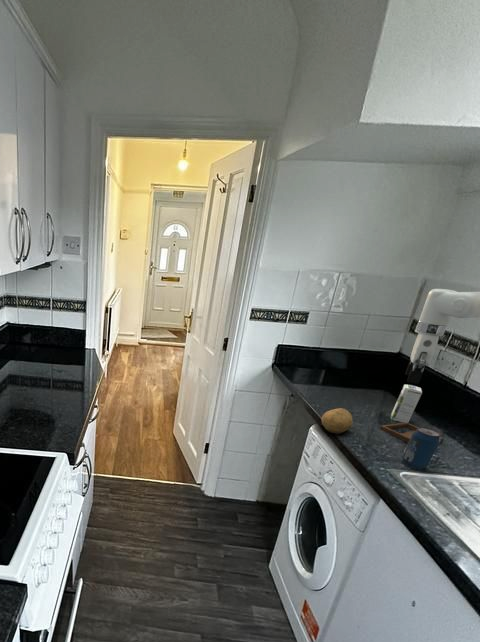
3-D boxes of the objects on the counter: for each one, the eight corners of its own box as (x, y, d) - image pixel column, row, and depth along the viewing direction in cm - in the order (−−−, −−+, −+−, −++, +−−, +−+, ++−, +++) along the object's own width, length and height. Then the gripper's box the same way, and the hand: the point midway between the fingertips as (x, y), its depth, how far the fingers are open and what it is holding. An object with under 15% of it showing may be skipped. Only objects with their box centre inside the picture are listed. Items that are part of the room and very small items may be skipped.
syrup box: (389, 416, 168) (403, 383, 162) (406, 420, 166) (421, 387, 160) (390, 421, 164) (404, 387, 158) (408, 425, 161) (423, 391, 155)
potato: (312, 431, 151) (318, 412, 147) (325, 421, 160) (332, 402, 156) (340, 442, 145) (348, 421, 141) (353, 431, 154) (360, 411, 150)
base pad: (441, 443, 148) (443, 438, 147) (414, 447, 144) (416, 441, 143) (405, 427, 159) (407, 422, 159) (379, 430, 155) (381, 425, 154)
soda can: (428, 465, 132) (444, 432, 126) (423, 473, 127) (440, 439, 122) (403, 456, 136) (417, 424, 131) (398, 463, 132) (413, 430, 126)
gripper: (448, 335, 125) (427, 388, 132) (441, 326, 139) (422, 375, 146) (418, 331, 129) (399, 383, 135) (414, 323, 142) (397, 371, 149)
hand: (411, 379), depth 140 cm, fingers open, 9 cm apart
